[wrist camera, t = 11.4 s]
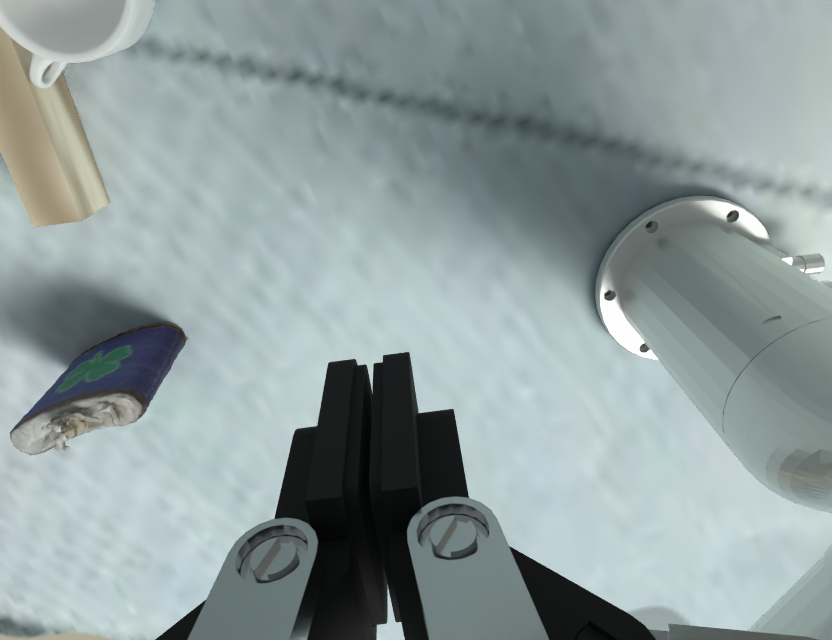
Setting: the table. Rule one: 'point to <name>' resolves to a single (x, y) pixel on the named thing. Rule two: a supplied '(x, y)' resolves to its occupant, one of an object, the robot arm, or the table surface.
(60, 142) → the wooden bar
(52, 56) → the teacup
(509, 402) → the table surface
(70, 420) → the clover hip flask
